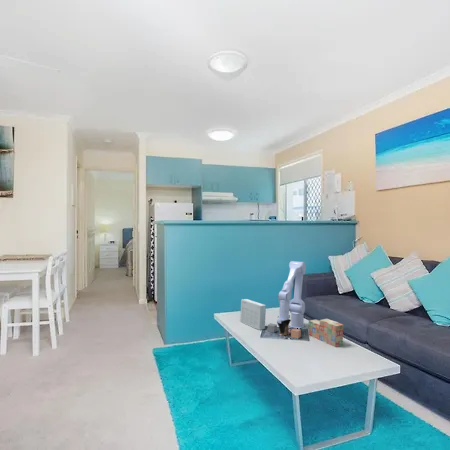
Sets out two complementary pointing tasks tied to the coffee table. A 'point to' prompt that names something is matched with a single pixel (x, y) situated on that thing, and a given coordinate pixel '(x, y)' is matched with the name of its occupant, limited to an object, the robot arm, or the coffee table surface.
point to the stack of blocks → (327, 331)
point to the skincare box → (253, 314)
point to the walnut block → (285, 330)
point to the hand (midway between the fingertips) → (283, 331)
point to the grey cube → (272, 327)
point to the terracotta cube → (296, 333)
